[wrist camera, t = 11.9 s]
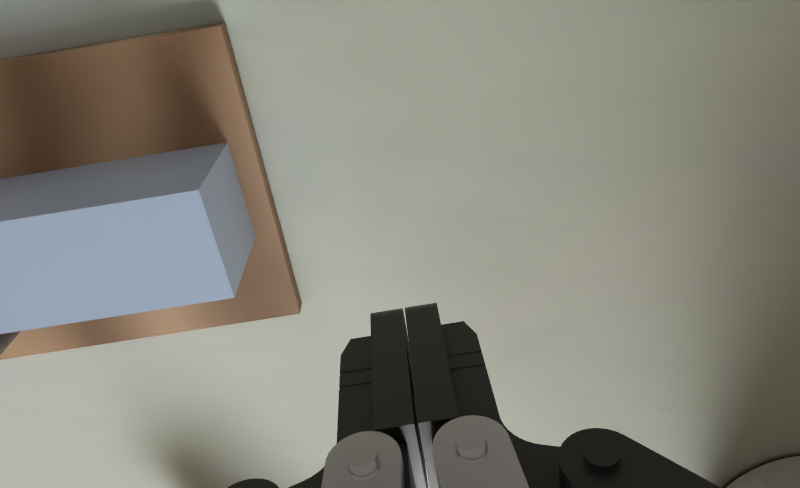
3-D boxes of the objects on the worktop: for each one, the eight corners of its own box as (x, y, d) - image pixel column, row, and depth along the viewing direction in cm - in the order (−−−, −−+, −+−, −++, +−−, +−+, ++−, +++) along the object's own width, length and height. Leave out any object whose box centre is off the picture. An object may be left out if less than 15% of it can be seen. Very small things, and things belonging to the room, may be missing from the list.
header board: (225, 22, 21) (161, 70, 15) (301, 303, 27) (280, 429, 20) (-213, 95, 22) (-468, 173, 15) (-48, 357, 28) (-180, 498, 21)
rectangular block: (-8, 180, 23) (-86, 235, 19) (227, 142, 23) (198, 190, 19) (37, 270, 25) (-25, 338, 21) (255, 236, 25) (234, 297, 21)
